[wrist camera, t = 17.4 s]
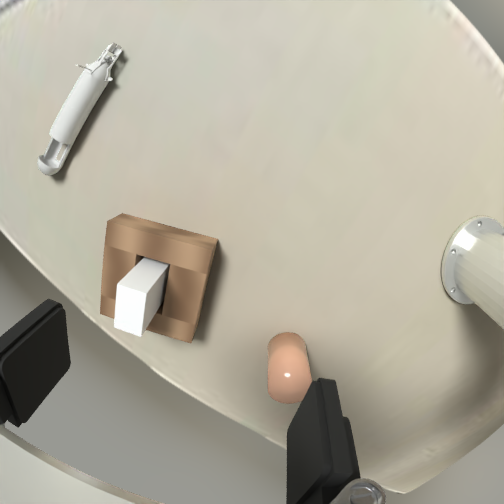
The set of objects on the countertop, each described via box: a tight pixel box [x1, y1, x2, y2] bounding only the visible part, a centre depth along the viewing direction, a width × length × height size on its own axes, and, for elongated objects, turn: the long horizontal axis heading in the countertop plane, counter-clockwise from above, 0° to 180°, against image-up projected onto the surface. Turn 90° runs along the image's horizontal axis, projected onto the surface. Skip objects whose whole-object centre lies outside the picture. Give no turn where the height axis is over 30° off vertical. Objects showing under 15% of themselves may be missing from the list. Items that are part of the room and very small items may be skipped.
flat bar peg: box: [114, 257, 170, 337], centre depth 32 cm, size 3×5×10 cm, turn 164°
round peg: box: [268, 332, 312, 404], centre depth 36 cm, size 5×5×8 cm
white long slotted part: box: [37, 42, 122, 175], centre depth 28 cm, size 18×5×7 cm, turn 144°
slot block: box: [100, 213, 218, 343], centre depth 35 cm, size 12×12×4 cm
